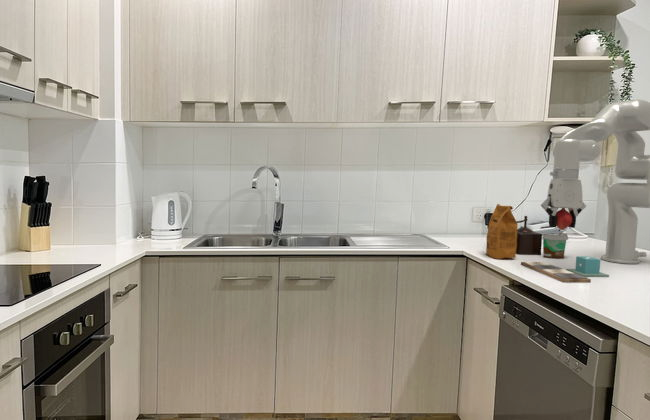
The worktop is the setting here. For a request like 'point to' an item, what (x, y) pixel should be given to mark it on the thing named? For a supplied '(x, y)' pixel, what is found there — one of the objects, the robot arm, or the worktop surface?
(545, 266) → the board
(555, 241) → the food container
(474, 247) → the worktop surface
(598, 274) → the mat
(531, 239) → the manual coffee grinder
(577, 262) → the die
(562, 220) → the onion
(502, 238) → the coffee package
